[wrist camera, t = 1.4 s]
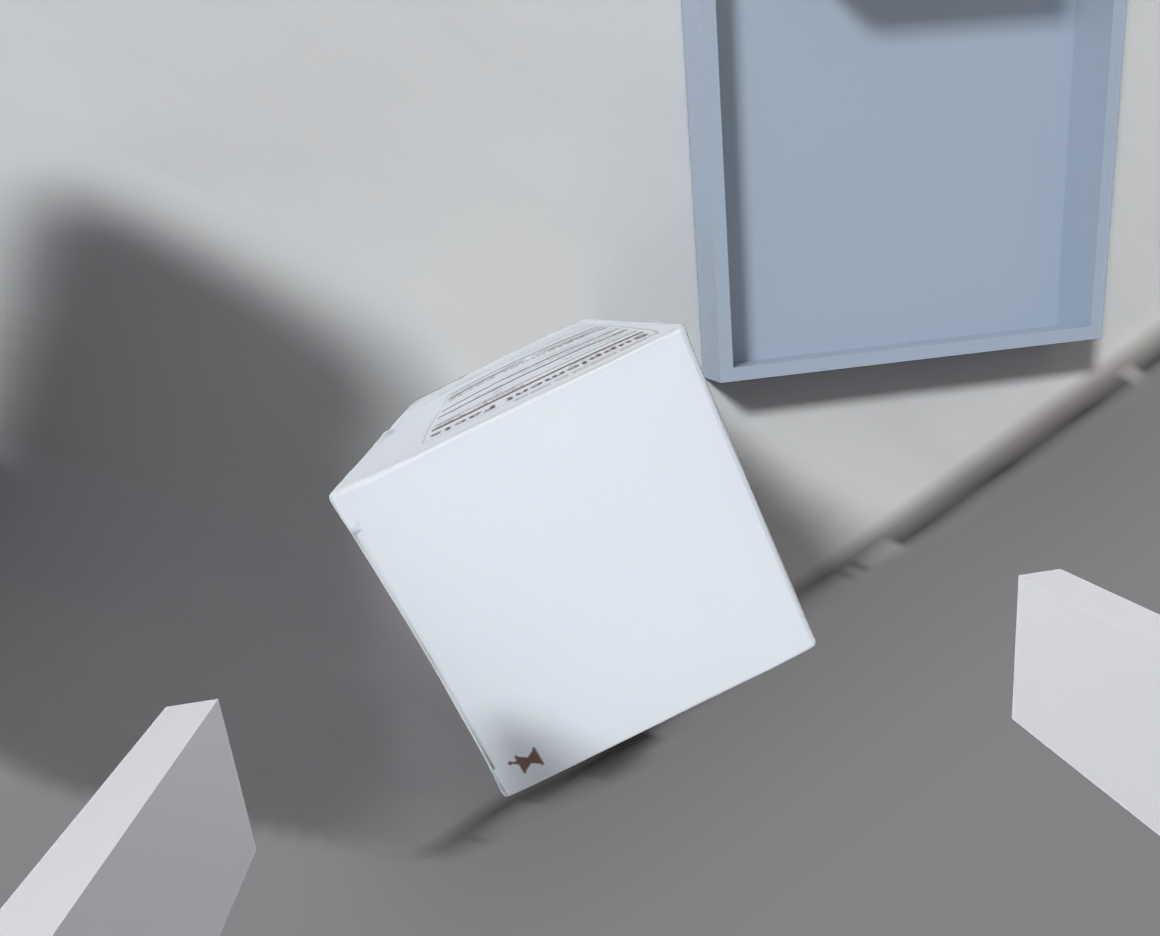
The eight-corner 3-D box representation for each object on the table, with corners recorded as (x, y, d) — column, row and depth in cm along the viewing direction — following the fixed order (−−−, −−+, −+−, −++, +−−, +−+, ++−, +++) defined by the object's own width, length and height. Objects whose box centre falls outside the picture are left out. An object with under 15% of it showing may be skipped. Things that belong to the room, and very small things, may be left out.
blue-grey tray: (703, 377, 33) (720, 382, 31) (665, -270, 27) (682, -329, 25) (1057, 335, 35) (1101, 338, 32) (1095, -281, 29) (1152, -337, 26)
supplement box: (670, 491, 34) (833, 659, 18) (501, 574, 34) (509, 818, 18) (588, 310, 32) (690, 312, 15) (406, 398, 32) (314, 495, 15)
